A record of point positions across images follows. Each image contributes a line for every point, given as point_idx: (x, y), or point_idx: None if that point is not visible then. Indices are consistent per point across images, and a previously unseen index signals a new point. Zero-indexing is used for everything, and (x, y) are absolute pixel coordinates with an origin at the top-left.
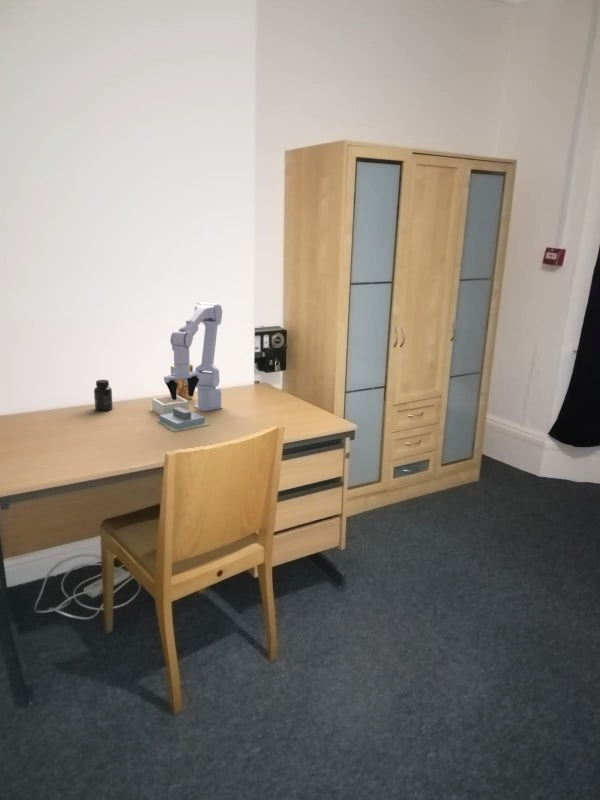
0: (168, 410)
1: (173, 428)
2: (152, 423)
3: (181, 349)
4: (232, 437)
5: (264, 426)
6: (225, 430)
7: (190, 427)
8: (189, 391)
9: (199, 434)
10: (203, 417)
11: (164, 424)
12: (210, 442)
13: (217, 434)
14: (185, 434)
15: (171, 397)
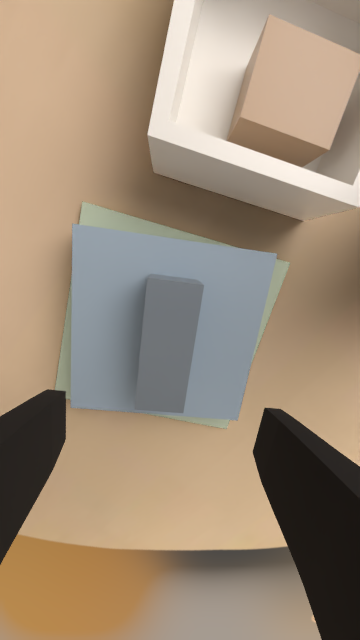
0: (189, 171)
1: None
2: (39, 222)
3: None
4: (186, 547)
5: None
6: (222, 495)
7: None
8: (286, 455)
9: (123, 472)
10: (230, 419)
11: (71, 298)
12: (100, 540)
13: (171, 506)
14: (80, 442)
15: (35, 396)
